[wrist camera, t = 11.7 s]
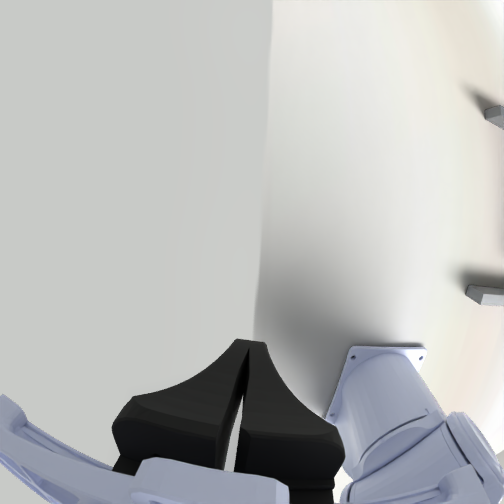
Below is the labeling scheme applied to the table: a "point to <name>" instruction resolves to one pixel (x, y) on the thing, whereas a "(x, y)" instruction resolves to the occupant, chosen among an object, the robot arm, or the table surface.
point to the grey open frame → (479, 293)
